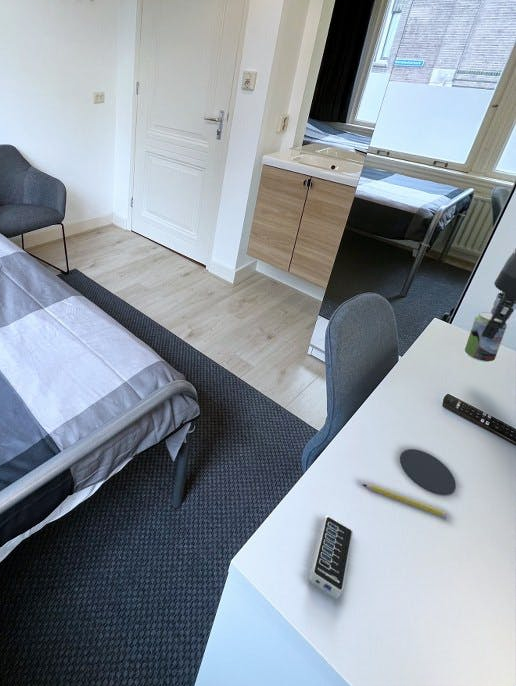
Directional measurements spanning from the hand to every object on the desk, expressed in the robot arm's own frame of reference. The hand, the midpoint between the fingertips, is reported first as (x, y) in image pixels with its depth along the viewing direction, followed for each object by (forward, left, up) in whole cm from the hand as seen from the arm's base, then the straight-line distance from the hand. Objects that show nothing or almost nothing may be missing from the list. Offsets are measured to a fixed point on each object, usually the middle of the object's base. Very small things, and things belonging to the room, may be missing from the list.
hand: (488, 331), depth 105 cm
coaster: (0, +41, -14) cm, 44 cm away
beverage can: (0, 0, -8) cm, 8 cm away
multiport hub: (+8, +72, -15) cm, 74 cm away
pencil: (+2, +52, -15) cm, 54 cm away
